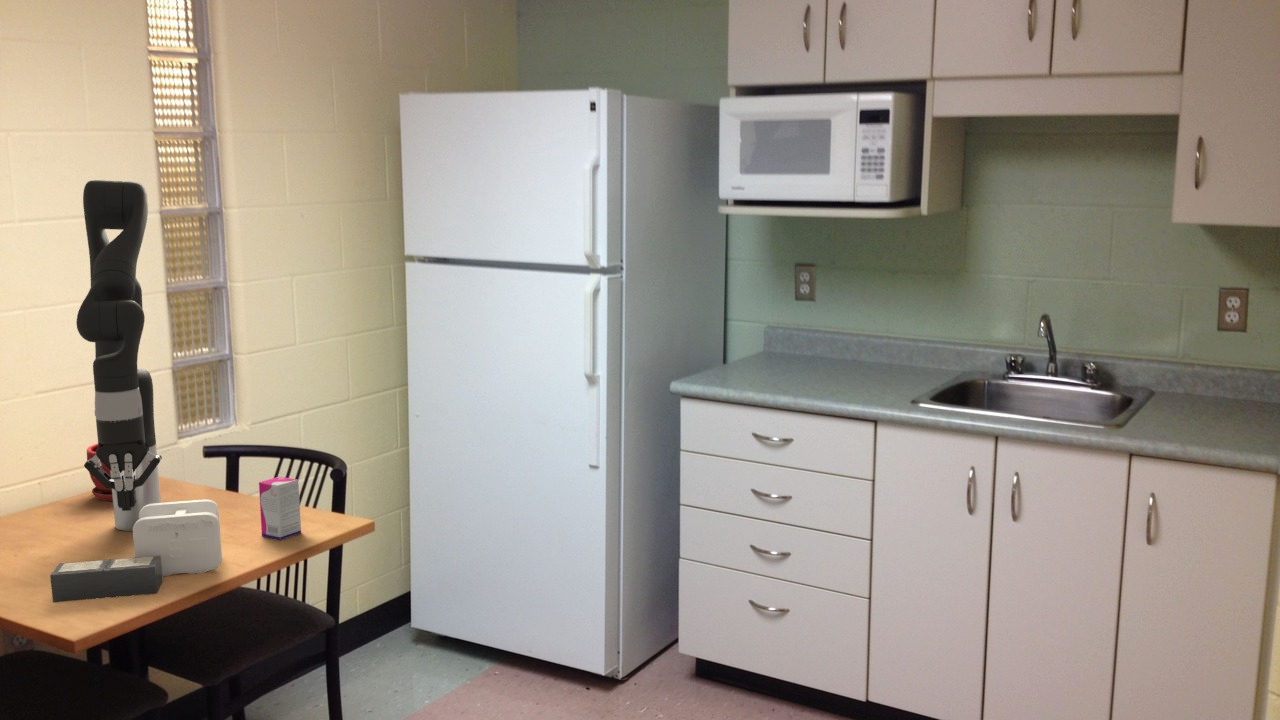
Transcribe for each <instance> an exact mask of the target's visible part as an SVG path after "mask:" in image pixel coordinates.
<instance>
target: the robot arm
mask: <svg viewBox="0 0 1280 720" xmlns="http://www.w3.org/2000/svg"><path fill="white" fill-rule="evenodd" d="M82 195H83V196H82V206H83V217H84V222H85V223H84V225H85V230H86V238H87V245H88V255H89V267H90V268H89V269H90V270H89V271H90V273H89V275H90V288H89V291H88V293H87V295H86V296H85V298H84V299H83V301H82V303H81V304H80V306H79V308H78V311H77V314H76V329H77V332H78V335H80V337H81V338H82V339H84V340H85V341H87V342H90V343H94V344H95V345H94V349H95V350H94V351H95V353H94V354H95V357H94V358H95V359H94V360H93V362H92V373H93V382H94V383H93V384H94V416H95V422H96V423H95V424H96V435H97V443H98V448H97V450H96V455H95V456H94V457H93V458H91V459H89V460H88V461H87V460H86V461H85V462H84V465H83V468H85V469H86V470H87V471H88V473H89V472H90V473H91V474H92V475H93V476H94V477H95V478H96V479H97V480H98V481H99V482H100V483H101V484H102V485H103V486H104V487H105V488H112V495H113V501H112V505H113V516H114V517H113V518H114V527H115V529H117V530H119V531H128V532H131V531H132V532H133V526H134V524H135V523H136V521H138V520H139V512H140V510H141V509H142V508H143V507H144V506H146V505H148V504H153V503H162V500H161V499H162V497H161V496H162V495H161V485H160V474H159V464H160V462H161V461H162V459H163V457H162V455H161V454H158V450H157V438H156V430H155V429H156V428H155V414H154V413H155V412H154V384H153V378H152V376H151V373H150V372H149V371H148V370H147V369H144V368H140V369H139V368H138V358H139V357H138V356H139V348H140V343H141V339H142V335H143V332H144V331H143V330H144V326H145V318H146V317H145V312H144V310H143V290H142V286H141V284H140V282H139V281H138V278H137V277H136V276H137V264H138V259H139V255H140V251H141V247H142V245H143V244H142V243H143V240H144V237H145V236H144V235H145V230H146V227H147V221H148V213H149V211H148V210H149V203H148V194H147V190H146V187H145V186H144V185H143V184H142V183H141V182H140V183H139V182H135V181H129V180H128V181H127V180H126V181H125V180H124V181H123V180H107V179H93V180H89V181H87V182H86V183H85V185H84V188H83V193H82ZM107 230H117V231H119V230H121V232H120V233H119V234H118V235H117V236H115V238H113V239H112V240H111V241H110V240H109V239H110V238H109V237H108V235H107V232H106V231H107ZM100 460H101V461H102V462H103V463H104V465H105V466H106V467H107V468H108V469H109V470H110V473H111V476H110V475H109V474H108V473H107V472H106V471H105V470H104V469H103V468H102V467H101V462H100Z"/></svg>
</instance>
